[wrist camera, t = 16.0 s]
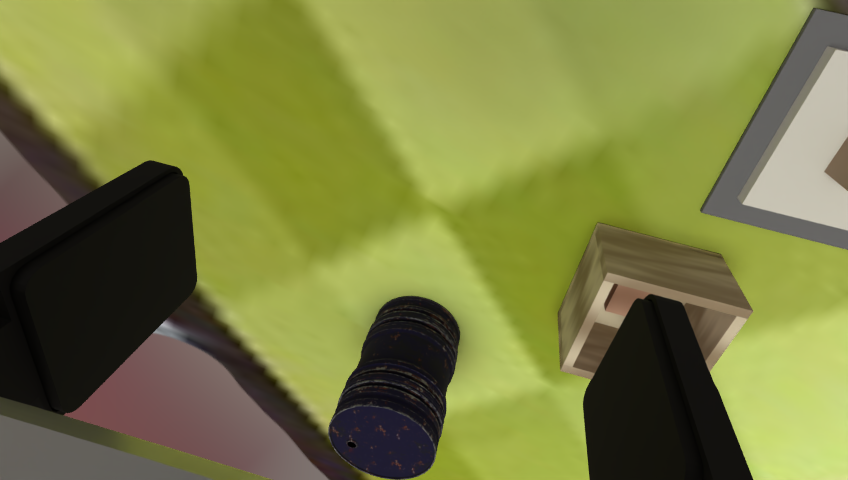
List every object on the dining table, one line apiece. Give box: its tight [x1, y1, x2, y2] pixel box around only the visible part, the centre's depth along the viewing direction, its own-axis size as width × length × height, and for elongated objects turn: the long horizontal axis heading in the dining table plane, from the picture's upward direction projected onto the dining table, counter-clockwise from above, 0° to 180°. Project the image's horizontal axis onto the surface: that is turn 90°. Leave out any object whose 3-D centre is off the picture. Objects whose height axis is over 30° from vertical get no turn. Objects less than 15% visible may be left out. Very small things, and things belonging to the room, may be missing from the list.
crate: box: [558, 223, 753, 379], centre depth 44 cm, size 11×11×8 cm
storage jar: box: [328, 296, 460, 480], centre depth 49 cm, size 10×10×15 cm
